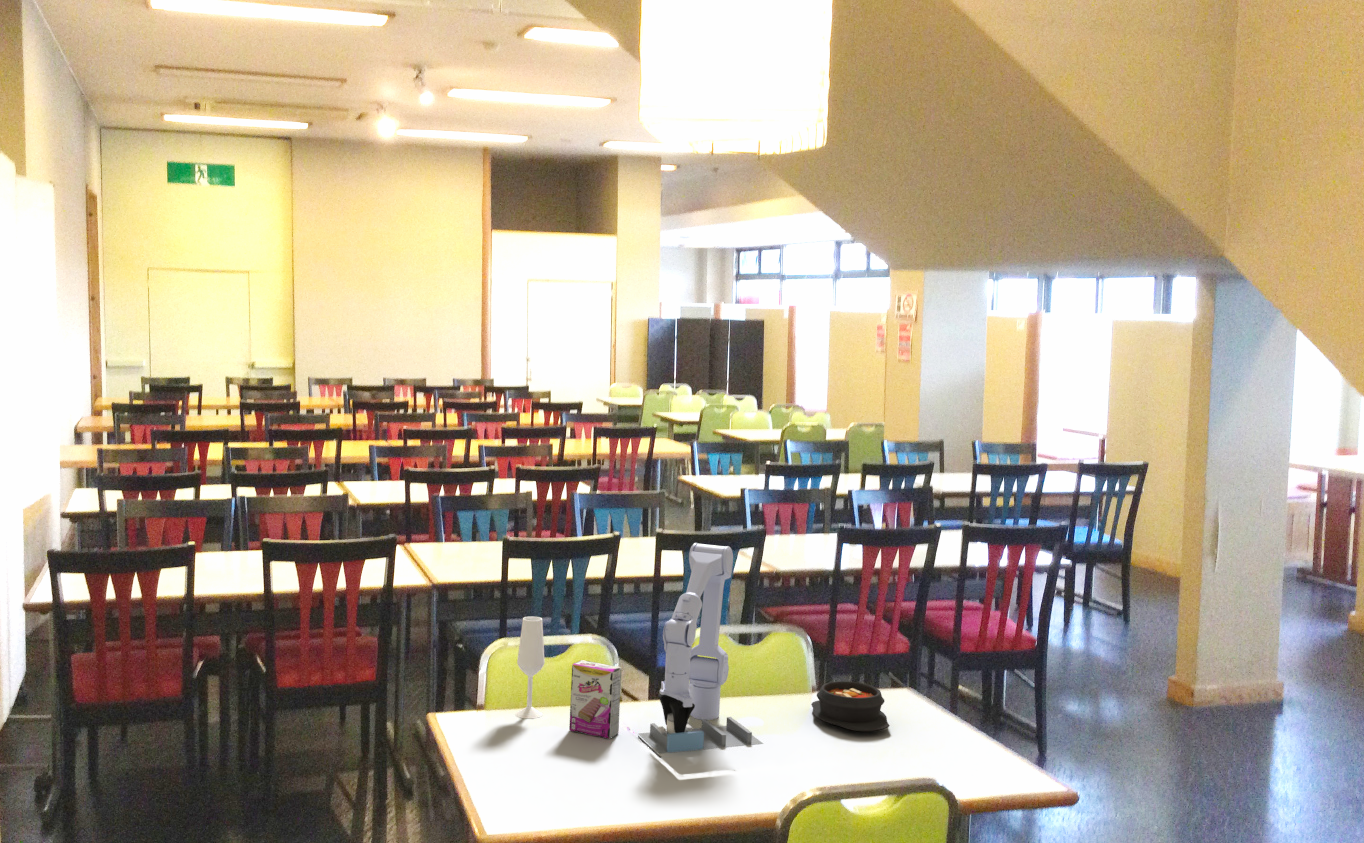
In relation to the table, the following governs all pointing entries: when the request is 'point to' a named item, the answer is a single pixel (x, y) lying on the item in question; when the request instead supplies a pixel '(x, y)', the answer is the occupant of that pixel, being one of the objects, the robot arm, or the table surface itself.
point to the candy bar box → (595, 699)
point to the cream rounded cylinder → (670, 724)
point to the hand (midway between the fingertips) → (674, 728)
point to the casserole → (851, 706)
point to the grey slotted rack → (698, 737)
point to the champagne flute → (531, 659)
